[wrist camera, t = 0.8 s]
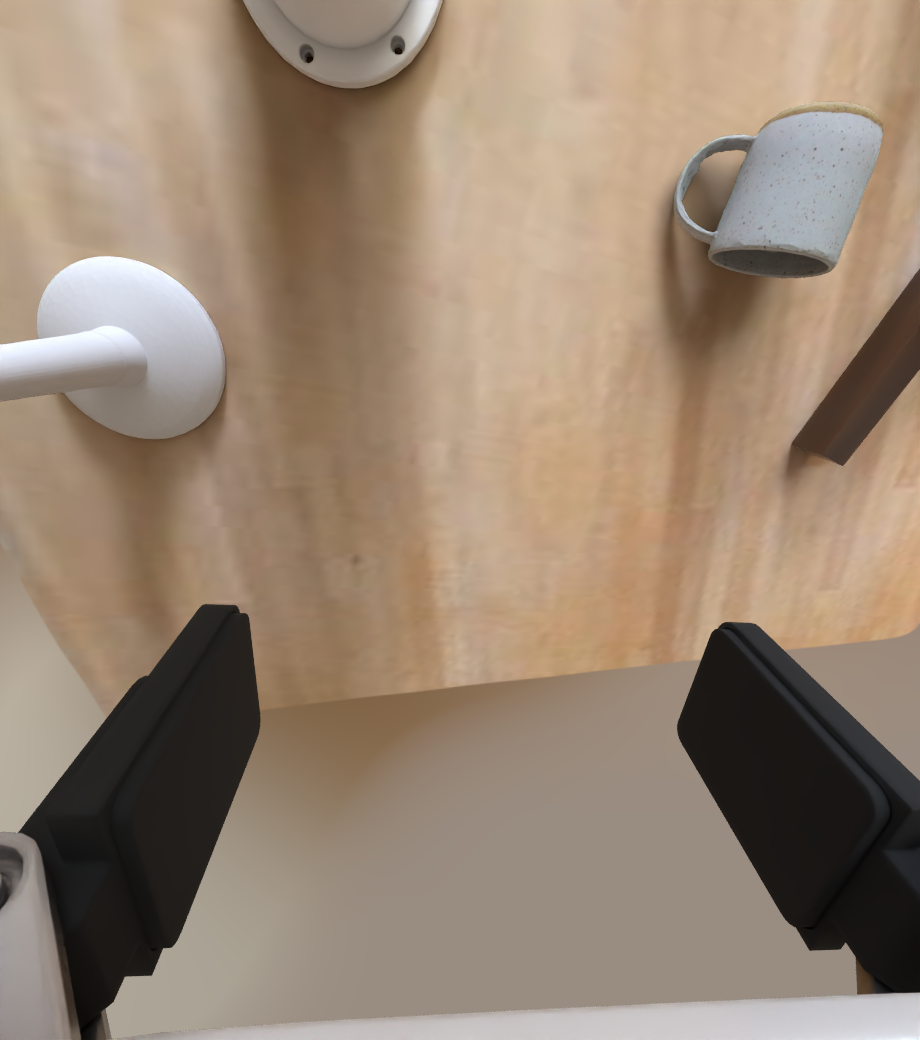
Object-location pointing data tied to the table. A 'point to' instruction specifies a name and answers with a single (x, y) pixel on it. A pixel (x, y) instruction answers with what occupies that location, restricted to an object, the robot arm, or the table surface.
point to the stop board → (868, 383)
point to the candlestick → (121, 349)
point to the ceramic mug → (790, 190)
